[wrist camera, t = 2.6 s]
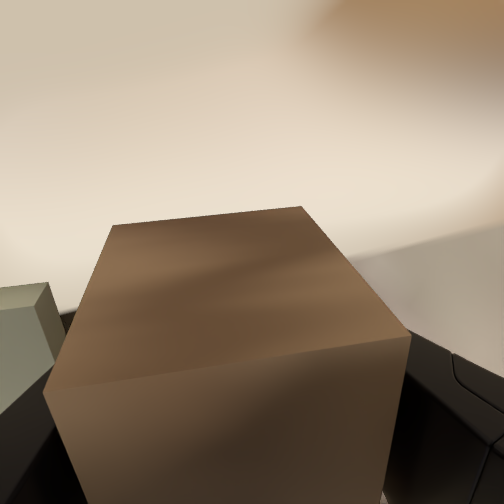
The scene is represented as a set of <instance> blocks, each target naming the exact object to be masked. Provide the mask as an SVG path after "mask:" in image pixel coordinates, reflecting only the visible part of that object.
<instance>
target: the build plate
mask: <svg viewBox="0 0 504 504" xmlns="http://www.w3.org/2000/svg"><path fill="white" fill-rule="evenodd" d="M65 338H66V333H65V330H64V327H63V324H62V321H61V318H60V315H59V313H58V310H57V307H56V304H55V301H54V298H53V295H52V292H51V289H50V286H49V283H48V282H45V283H37V284H28V285H19V286H11V287H2V288H0V414H1V413H2V412H3V411H4V410H5V409H6V408H7V407H9V406H10V405H11V404H12V403H13V402H14V401H15V400H16V399H17V398H18V397H19V396H20V395H22V394H23V393H24V392H25V391H26V390H27V389H28V388H29V387H30V386H31V385H32V384H33V383H34V382H36V381H37V380H38V379H39V378H40V377H41V376H42V375H43V374H44V373H45V372H46V371H47V370H49V369H50V368H51V367H52V366H53V365H54V364H55V362H56V359H57V357H58V355H59V352H60V350H61V347H62V345H63V343H64V340H65Z"/></svg>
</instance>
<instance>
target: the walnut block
mask: <svg viewBox="0 0 504 504" xmlns="http://www.w3.org/2000/svg"><path fill="white" fill-rule="evenodd" d="M411 337H412V335H411V334H410V333H409V331H408V330H407V329H406V328H405V327H404V326H403V324H402V323H401V322H400V321H399V320H398V319H397V317H396V316H395V315H394V314H393V313H392V312H391V310H390V309H389V308H388V307H387V306H386V305H385V303H384V302H383V301H382V300H381V299H380V297H379V296H378V295H377V294H376V293H375V292H374V290H373V289H372V288H371V287H370V286H369V285H368V283H367V282H366V281H365V280H364V279H363V278H362V276H361V275H360V274H359V273H358V272H357V271H356V269H355V268H354V267H353V266H352V265H351V264H350V262H349V261H348V260H347V259H346V258H345V257H344V255H343V254H342V253H341V252H340V251H339V250H338V248H336V246H335V245H334V244H333V243H332V241H331V240H330V239H329V238H328V237H327V235H326V234H325V233H324V232H323V231H322V230H321V228H320V227H319V226H318V225H317V224H316V223H315V221H314V220H313V219H312V218H311V217H310V216H309V214H308V213H307V212H306V211H305V210H304V209H303V207H302V206H298V207H288V208H278V209H268V210H258V211H250V212H239V213H229V214H220V215H210V216H200V217H190V218H181V219H170V220H160V221H151V222H141V223H132V224H121V225H113V226H112V228H111V231H110V233H109V235H108V238H107V240H106V243H105V245H104V247H103V250H102V252H101V254H100V257H99V259H98V262H97V264H96V266H95V269H94V271H93V274H92V276H91V278H90V281H89V283H88V285H87V288H86V290H85V293H84V295H83V297H82V300H81V302H80V305H79V307H78V309H77V312H76V314H75V316H74V319H73V321H72V324H71V326H70V328H69V331H68V333H67V335H66V338H65V340H64V343H63V345H62V347H61V350H60V352H59V355H58V357H57V359H56V362H55V364H54V366H53V369H52V371H51V374H50V376H49V378H48V381H47V383H46V385H45V388H44V390H43V395H44V397H45V400H46V402H47V405H48V407H49V409H50V412H51V414H52V417H53V419H54V422H55V424H56V426H57V429H58V431H59V434H60V436H61V439H62V441H63V443H64V446H65V448H66V451H67V453H68V456H69V458H70V460H71V463H72V465H73V468H74V470H75V473H76V475H77V477H78V480H79V482H80V485H81V487H82V490H83V492H84V494H85V497H86V499H87V502H88V504H380V500H381V495H382V490H383V485H384V479H385V474H386V469H387V463H388V458H389V453H390V448H391V442H392V437H393V432H394V427H395V421H396V416H397V411H398V406H399V400H400V395H401V390H402V385H403V379H404V374H405V369H406V364H407V358H408V353H409V348H410V343H411Z"/></svg>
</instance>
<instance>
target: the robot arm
mask: <svg viewBox="0 0 504 504" xmlns="http://www.w3.org/2000/svg"><path fill="white" fill-rule="evenodd" d="M407 330H408V329H407ZM408 331H409V333H410V334H411V335H412V337H411V343H410V348H409V353H408V358H407V364H406V369H405V374H404V379H403V385H402V390H401V395H400V400H399V406H398V411H397V416H396V421H395V427H394V432H393V437H392V442H391V448H390V453H389V458H388V463H387V469H386V474H385V479H384V485H383V493H384V495H385V497H386V499H387V501H388V503H389V504H504V378H503V377H501V376H499V375H496V374H494V373H492V372H490V371H488V370H486V369H484V368H482V367H480V366H478V365H476V364H474V363H472V362H470V361H468V360H466V359H464V358H462V357H461V356H459V355H457V354H454V353H453V354H452V353H451V351H449V350H447V349H445V348H443V347H441V346H439V345H437V344H435V343H433V342H431V341H429V340H427V339H426V338H424V337H422V336H420V335H418V334H416V333H414V332H412V331H410V330H408ZM53 366H54V365H53ZM53 366H52V367H51V368H50V369H49V370H47V371H46V372H45V373H44V374H43V375H42V376H41V377H40V378H39V379H38V380H37V381H36V382H34V383H33V384H32V385H31V386H30V387H29V388H28V389H27V390H26V391H25V392H24V393H23V394H22V395H20V396H19V397H18V398H17V399H16V400H15V401H14V402H13V403H12V404H11V405H10V406H9V407H7V408H6V409H5V410H4V411H3V412H2V413H1V414H0V504H88V502H87V499H86V497H85V494H84V492H83V490H82V487H81V485H80V482H79V480H78V477H77V475H76V473H75V470H74V468H73V465H72V463H71V460H70V458H69V456H68V453H67V451H66V448H65V446H64V443H63V441H62V439H61V436H60V434H59V431H58V429H57V426H56V424H55V422H54V419H53V417H52V414H51V412H50V409H49V407H48V405H47V402H46V400H45V397H44V395H43V390H44V388H45V385H46V383H47V381H48V378H49V376H50V374H51V371H52V369H53Z"/></svg>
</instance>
